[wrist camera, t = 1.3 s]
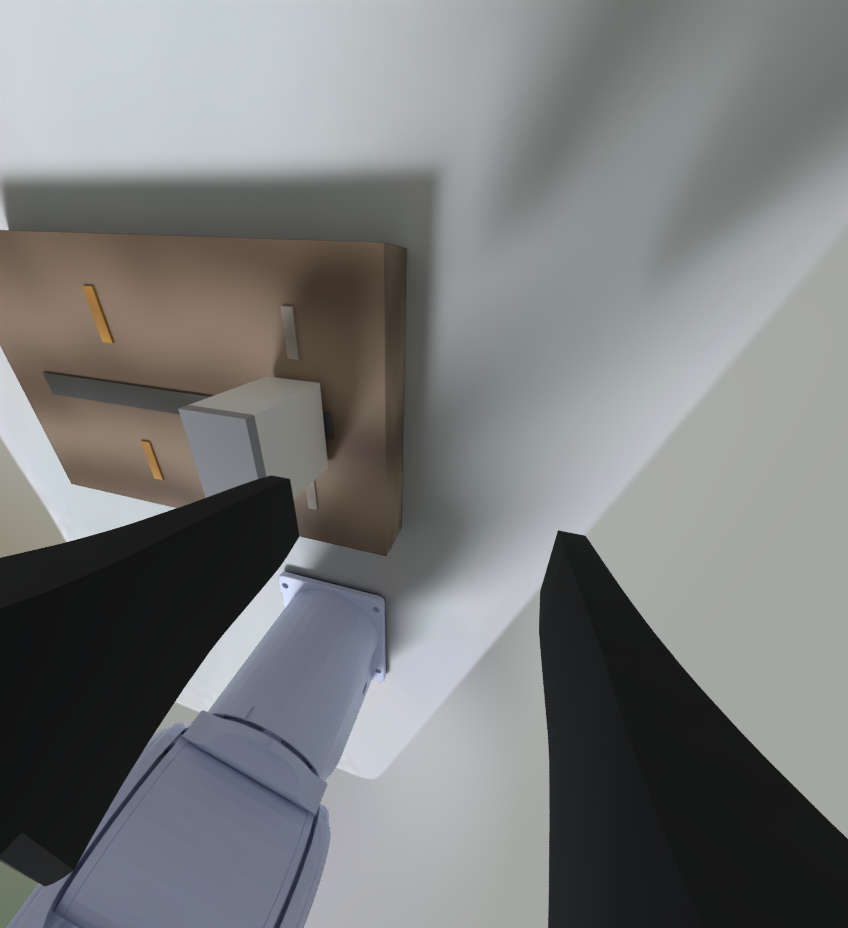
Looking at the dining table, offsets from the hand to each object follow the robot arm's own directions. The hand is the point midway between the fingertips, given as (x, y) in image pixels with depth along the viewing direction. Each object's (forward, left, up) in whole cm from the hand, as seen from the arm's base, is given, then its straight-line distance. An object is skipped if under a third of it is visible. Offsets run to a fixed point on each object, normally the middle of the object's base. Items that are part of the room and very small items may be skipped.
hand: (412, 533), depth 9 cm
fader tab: (0, +7, -6) cm, 9 cm away
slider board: (0, +14, -8) cm, 16 cm away
